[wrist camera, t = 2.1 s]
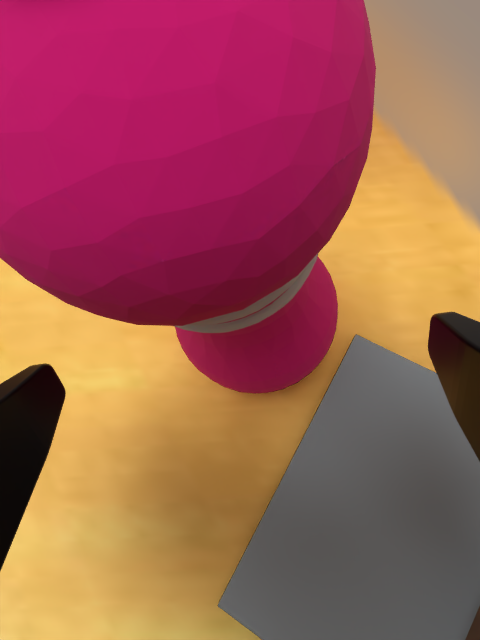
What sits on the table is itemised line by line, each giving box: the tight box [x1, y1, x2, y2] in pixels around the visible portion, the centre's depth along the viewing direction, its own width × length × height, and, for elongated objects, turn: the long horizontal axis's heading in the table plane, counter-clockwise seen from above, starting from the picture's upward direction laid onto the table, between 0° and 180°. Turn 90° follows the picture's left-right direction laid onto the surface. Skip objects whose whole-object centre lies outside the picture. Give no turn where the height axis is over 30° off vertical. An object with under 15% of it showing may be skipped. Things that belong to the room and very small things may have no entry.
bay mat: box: [218, 335, 480, 640], centre depth 17 cm, size 15×11×1 cm
